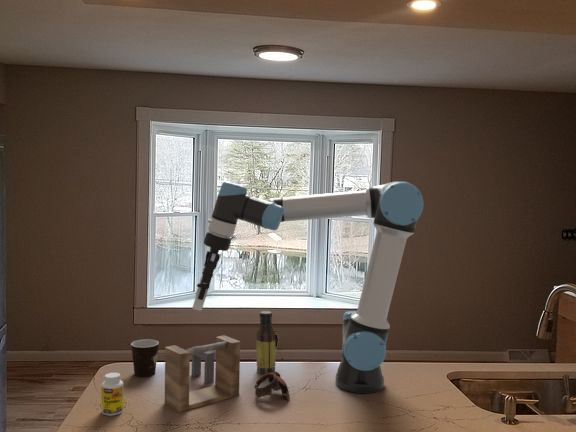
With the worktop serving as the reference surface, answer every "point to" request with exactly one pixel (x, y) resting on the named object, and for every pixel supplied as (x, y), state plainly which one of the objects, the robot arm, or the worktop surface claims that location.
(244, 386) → the worktop surface
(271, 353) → the sauce bottle
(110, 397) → the supplement bottle
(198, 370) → the u piece
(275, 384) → the brown looped piece
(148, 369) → the coffee mug
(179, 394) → the rack
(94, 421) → the worktop surface
